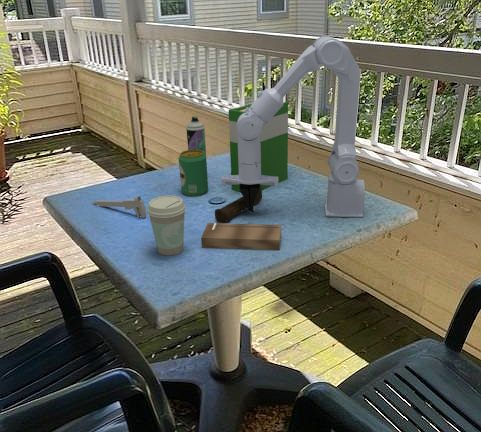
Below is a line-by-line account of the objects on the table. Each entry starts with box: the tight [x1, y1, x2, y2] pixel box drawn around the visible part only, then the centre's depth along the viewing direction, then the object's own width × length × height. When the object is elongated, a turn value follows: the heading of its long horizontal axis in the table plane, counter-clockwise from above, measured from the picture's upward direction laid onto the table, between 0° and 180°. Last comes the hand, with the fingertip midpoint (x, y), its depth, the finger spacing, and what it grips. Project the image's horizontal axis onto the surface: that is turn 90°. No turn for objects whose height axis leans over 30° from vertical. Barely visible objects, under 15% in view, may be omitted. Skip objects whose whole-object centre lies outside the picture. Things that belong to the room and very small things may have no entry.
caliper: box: [91, 195, 147, 219], centre depth 132 cm, size 20×1×6 cm, turn 57°
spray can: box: [186, 115, 209, 179], centre depth 150 cm, size 6×6×20 cm
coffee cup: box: [146, 195, 187, 256], centre depth 109 cm, size 9×8×12 cm
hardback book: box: [228, 101, 289, 194], centre depth 143 cm, size 18×7×24 cm, turn 137°
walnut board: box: [200, 222, 282, 251], centre depth 114 cm, size 18×8×3 cm, turn 83°
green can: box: [178, 149, 209, 197], centre depth 142 cm, size 8×8×12 cm
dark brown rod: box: [214, 188, 263, 223], centre depth 130 cm, size 19×4×5 cm, turn 141°
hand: (250, 210), depth 128 cm, fingers closed
